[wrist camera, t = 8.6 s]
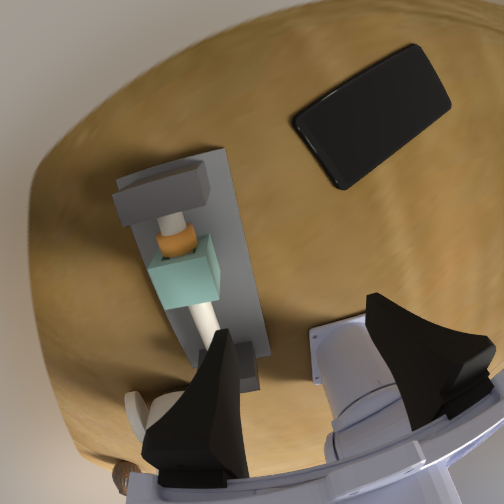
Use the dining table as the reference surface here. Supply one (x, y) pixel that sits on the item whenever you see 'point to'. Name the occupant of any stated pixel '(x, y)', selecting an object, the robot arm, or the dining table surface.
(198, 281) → the marker sleeve
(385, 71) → the smartphone
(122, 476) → the vase
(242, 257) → the rod and ring fixture
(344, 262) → the dining table surface
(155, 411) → the spread jar
